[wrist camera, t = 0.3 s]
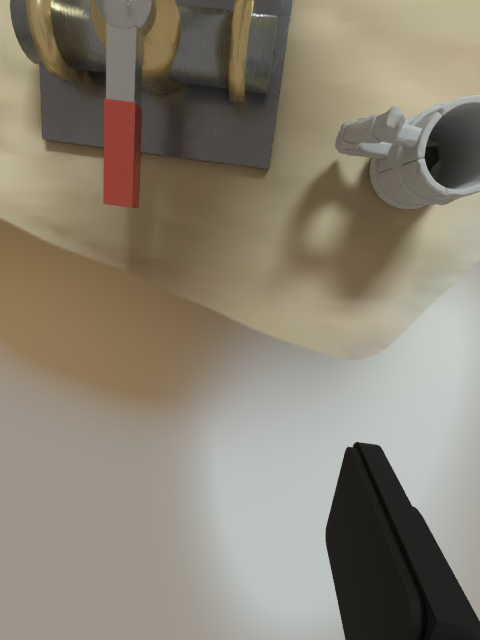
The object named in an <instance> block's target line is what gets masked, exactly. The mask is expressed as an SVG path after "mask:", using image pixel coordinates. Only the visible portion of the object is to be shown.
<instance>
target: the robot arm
mask: <svg viewBox="0 0 480 640" xmlns="http://www.w3.org/2000/svg"><path fill="white" fill-rule="evenodd" d="M326 546H327V551H328V556H329V560H330V565H331V570H332V575H333V580H334V585H335V590H336V595H337V600H338V604H339V610H340V615H341V620H342V624H343V629H344V634H345V639H346V640H480V621H479V619H478V618H477V616H476V614H475V612H474V610H473V609H472V607H471V605H470V603H469V601H468V600H467V597H466V596H465V594H464V592H463V590H462V588H461V586H460V585H459V583H458V581H457V579H456V577H455V575H454V574H453V572H452V570H451V568H450V566H449V565H448V562H447V561H446V559H445V557H444V555H443V553H442V551H441V550H440V548H439V546H438V544H437V542H436V540H435V539H434V537H433V535H432V533H431V532H430V529H429V528H428V526H427V524H426V522H425V520H424V518H423V517H422V515H421V514H420V512H419V511H418V510H417V509H416V508H415V507H412V505H411V503H410V501H409V500H408V497H407V496H406V494H405V492H404V490H403V488H402V486H401V484H400V482H399V480H398V479H397V477H396V475H395V473H394V471H393V469H392V467H391V465H390V463H389V462H388V460H387V458H386V456H385V454H384V452H383V450H382V448H381V447H380V446H378V445H374V444H366V443H359V442H356V443H355V444H354V445H353V448H352V447H347V449H346V451H345V454H344V459H343V462H342V466H341V470H340V475H339V478H338V482H337V487H336V491H335V495H334V498H333V502H332V506H331V511H330V514H329V518H328V522H327V527H326Z"/></svg>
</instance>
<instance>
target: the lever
mask: <svg viewBox="0 0 480 640" xmlns="http://www.w3.org/2000/svg"><path fill="white" fill-rule="evenodd" d="M95 1H96V5H97V7H98V10H99V12H100V13H101V15H102V16H103V18H104V19H105V20H106V21H107V32H106V99H104V204H110V205H117V206H125V207H132V208H139V191H140V163H141V135H142V108H141V91H142V62H143V37H144V36H146V35H147V34H148V33H149V32H150V30H151V29H152V27H153V25H154V22H155V19H156V2H155V0H95Z"/></svg>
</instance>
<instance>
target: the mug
mask: <svg viewBox="0 0 480 640" xmlns="http://www.w3.org/2000/svg"><path fill="white" fill-rule="evenodd" d="M428 138H429V139H428ZM335 146H336V149H337V150H338V152H339V153H342V154H347V155H352V156H363V157H370V158H372V159H371V163H370V169H369V174H370V181H371V183H372V185H373V189H374V191H375V192H376V194H377V195H378V196H379V197H380V198H381V199H382V200H383V201H384V202H386V203H387V204H389V205H391V206H393V207H396V208H401V209H419V208H421V207H423V206H426V205H428V204H439V205H445V204H448V203H450V202H452V201H454V200H456V199H458V198H460V197H464V196H468V195H471V194H474V193H477V192H479V191H480V95H470V96H464V97H461V98H458V99H455V100H453V101H451V102H447V103H444V102H442V103H439V104H436V105H434V106H433V107H431V108H429V109H427V110H426V111H424V112H422V113H421V114H419V115H418V116H417V117H416V116H415V117H411V118H409V119H408V120H405V118H404V115H403V112H402V110H401V109H400V108H398V107H395V106H393V107H391V108H390V110H388V111H387V112H386V113H384V114H381V115H379V114H377V115H373V116H370V117H367V118H360V119H358V120H357V121H356V122H347V123H344V124H343V125H342V126H341V129H340V131H339V133H338V136H337V139H336V144H335ZM430 146H436V148H437V150H438V153H439V160H438V161H437V163H436V164H435V165H434V166H433V167H432V169H431V170H430V171H428V169H427V166H426V162H425V159H424V157H425V149H426V147H430Z"/></svg>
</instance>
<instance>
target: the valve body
mask: <svg viewBox="0 0 480 640" xmlns="http://www.w3.org/2000/svg"><path fill="white" fill-rule="evenodd" d="M155 2H156V19H155V22H154V25H153V27H152V29H151V30H150V32H149V33H148V34H147V35H146V36H144V37H143V62H142V91H141V108H142V135H141V153H146V154H153V155H161V156H168V157H176V158H184V159H191V160H199V161H207V162H214V163H222V164H230V165H237V166H245V167H253V168H260V169H268V170H269V164H270V157H271V150H272V143H273V135H274V128H275V121H276V114H277V107H278V100H279V93H280V85H281V78H282V71H283V64H284V57H285V50H286V43H287V35H288V28H289V21H290V14H291V7H292V0H155ZM10 11H11V19H12V24H13V28H14V31H15V34H16V37H17V39H18V42H19V44H20V46H21V48H22V50H23V51H24V53H25V54H26V56H27V57H28V58H29V59H30V60H31V61H32V62H34V63H35V64H39V65H40V89H41V113H42V137H43V139H44V140H47V141H54V142H61V143H69V144H77V145H84V146H92V147H100V148H104V99H106V32H107V21H106V20H105V19H104V18H103V16H102V15H101V13H100V12H99V10H98V7H97V5H96V1H95V0H10Z"/></svg>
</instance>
